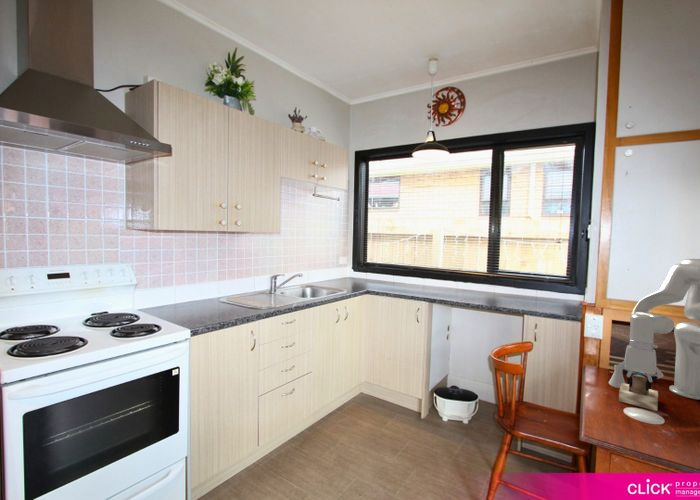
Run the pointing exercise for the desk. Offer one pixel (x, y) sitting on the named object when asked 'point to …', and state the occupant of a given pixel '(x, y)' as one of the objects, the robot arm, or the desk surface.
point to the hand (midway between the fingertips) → (638, 387)
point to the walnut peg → (639, 384)
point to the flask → (617, 378)
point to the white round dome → (644, 415)
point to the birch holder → (638, 397)
